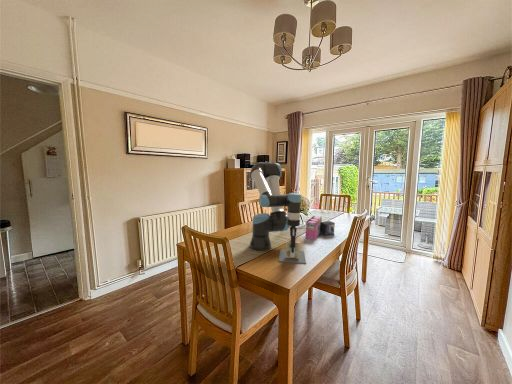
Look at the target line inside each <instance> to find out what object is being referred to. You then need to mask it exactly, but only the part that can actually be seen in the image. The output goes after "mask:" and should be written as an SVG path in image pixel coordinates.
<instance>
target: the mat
mask: <svg viewBox="0 0 512 384" xmlns="http://www.w3.org/2000/svg"><path fill="white" fill-rule="evenodd" d="M278 262H279V263H290V264H299V265H300V264H301V265H307V261H306V255H305V251H304V250H299V259H294V258H286V249H279V255H278Z"/></svg>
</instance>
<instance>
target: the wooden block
mask: <svg viewBox="0 0 512 384" xmlns="http://www.w3.org/2000/svg"><path fill="white" fill-rule="evenodd" d="M285 243H286V244H285V250H286V258H294V257H290V246H291V240H286V241H285ZM300 244H301V242H300V241H296V240H295V258H294V259H299V251H300Z"/></svg>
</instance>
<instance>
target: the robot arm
mask: <svg viewBox="0 0 512 384" xmlns="http://www.w3.org/2000/svg"><path fill="white" fill-rule="evenodd" d="M282 171H283V170H282V166H281V165H280V163H278V162H258V163H257V162H256V163H255V164H254V165H253V166H252V167H251V169H250V177H251V179H252V180H253V181H254V184H255V186H256V189H257V191H258V194H259V197H258V203H259V204H258V205H259V206H260V207H262V208H271V209H270V210H271V212H269V213H266V212H264V213H262V212H261V213H257V214H255V215H254V216H253V217H252V223H251V224H252V236H251V239H250V242H249V248H250V249H251V250H254V251H268V250H270V249H271V248H272V242H271V240H270V233H274V232H275V233H276V232H287V231H288V230H289V235H290V241H291V246H290V257H294V258H295V241H296V237H297V227H299V226H300V225H301V224H300V223H301V221H300V220H301V216H302V213H301V205H302V203H301V202H302V196H301V193H299V192H298V193H297V192H289V193H282V194H281V188H280V183H279V180H280V179H281V177H282V176H283V175H282V173H283V172H282ZM284 207H287V212H286V210H284Z"/></svg>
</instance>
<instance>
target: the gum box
mask: <svg viewBox="0 0 512 384" xmlns="http://www.w3.org/2000/svg"><path fill="white" fill-rule="evenodd" d="M321 222H323V219H322V216H320V217H318V216H315V215H313V216H311V217H310V218H309V219H308V220H306V221H305V239H310V240H316V239H317V238H318V237H319V235H321V234H320V225H321Z"/></svg>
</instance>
